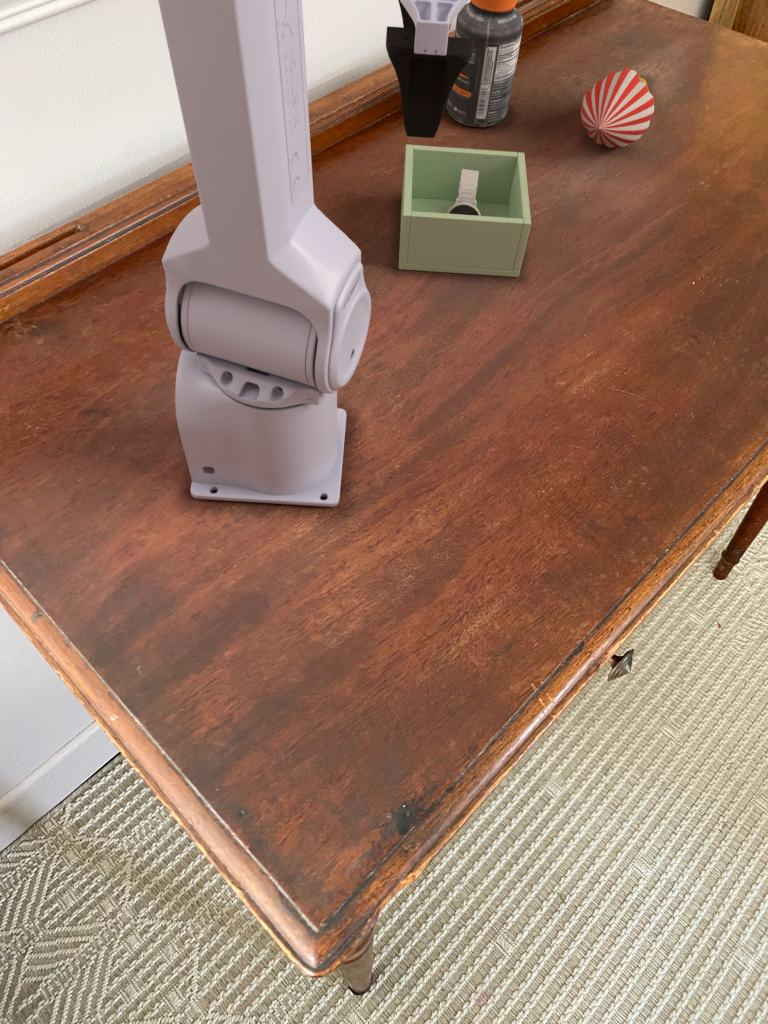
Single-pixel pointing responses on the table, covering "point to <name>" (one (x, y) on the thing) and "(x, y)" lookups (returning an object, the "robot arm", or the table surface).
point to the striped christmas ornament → (617, 109)
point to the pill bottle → (486, 62)
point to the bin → (463, 238)
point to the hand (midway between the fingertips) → (421, 105)
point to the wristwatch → (466, 194)
